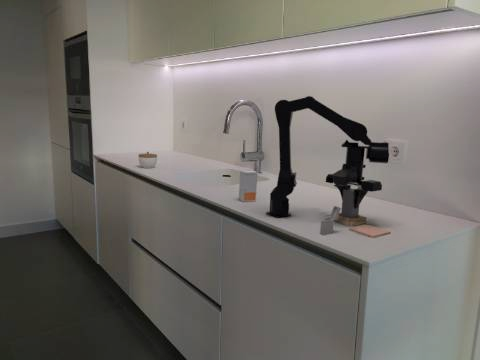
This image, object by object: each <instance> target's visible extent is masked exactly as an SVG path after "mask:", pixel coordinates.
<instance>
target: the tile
mask: <svg viewBox="0 0 480 360" xmlns="http://www.w3.org/2000/svg"><path fill="white" fill-rule="evenodd" d="M348 231H349V232H353V233H357V234H359V235H363V236H365V237H369V238H372V239H374V238H378V237H382V236H386V235H390V234H391V231H390V230H387V229H383V228H380V227H377V226H374V225H373V226H372V225H369V224H367V223H365V224H360V225H356V226H351V227H349V228H348Z"/></svg>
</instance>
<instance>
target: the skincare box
mask: <svg viewBox="0 0 480 360" xmlns="http://www.w3.org/2000/svg"><path fill="white" fill-rule="evenodd" d="M238 185H239V187H238V201H240V202H242V203H244V202H256V201H257V189H258V187H257V185H258V171H255V170H239V184H238Z"/></svg>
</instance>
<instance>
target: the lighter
mask: <svg viewBox="0 0 480 360" xmlns="http://www.w3.org/2000/svg"><path fill="white" fill-rule="evenodd" d="M341 211H342V207H340V206H336V205H333V207H332V210H331V214H330V215H326V216H324V218H323V219H321V220H320V231H319V234H320V235H323V236H326V235H330V234H333V233H334V224H335V223H334V222H336V220H337V218H338V215H339V213H341ZM334 220H335V221H334Z"/></svg>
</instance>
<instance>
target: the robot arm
mask: <svg viewBox="0 0 480 360" xmlns="http://www.w3.org/2000/svg"><path fill="white" fill-rule="evenodd" d="M306 109H308V110H310V111H312V112H313V113H315V114H316V115H319V117H322V118H323V119H325V120H327V121H328V122H330V123H332V124H333V125H334V126H336V127H338V128H339V129H340V130H341V131H342V132H343V133H344V134H345V135H347V137H348V138H350V139H351V140H352V142H351V141H349V140H348V139H346V140H345V141H344V142H343V143H341V148H346V155H345V163H342V166H341V169H339V170H337V171H336V172H334V173H328V174H327V175H326V177H325V183H328V184H333V186H334V187H336V188H337V189H338V190H339V191H338V192H339V193H340V197H341V200H343V189H349V188H352V186H357V188H353V189H354V191H355V203H354V208H355V209H357V208H358V206H359V207H360V204H361V203H362V201H363V199H364V198H365V196H367V193H369V192H370V193H371V192H373V193H374V192H376V191H377V192H378V191H382V188H383V184H382V183H381V182H382V181H379V180H375V179H368V180H365V177H364V176H363V171H364V169H365V168H366V166H367V165H366V164H364V161H365V159H366V160H368V162H369V163H374V164H375V163H378V164H388V162H389V159H390V153H389V152H390V149H389V146H390V145H389V142H386V141H384V142H375V141H372V140H371V139H370V138H369V136H368V129H367V127H366V126H365V125H364V124H362V123H360V122H357V121H355V120H352V119H350V118H347V117H345V116H343V115H341V114H340V113H338V112H336V111H335V110H334V109H331V108H330V107H329V106H326V105H325V104H323V103H322V102H320V101H318V100H317V99H315V98H314V96H311V95H308V96H305V97H303V98H302V97H301V98H298V99H297V98H296V99H294V100H287V99H279V100H278V101H277V102H276V103H275V105H274V113H275V119H276V122H277V125H278V126H277V127H278V139H279V140H278V144H279V145H278V146H279V148H278V149H279V170H278V171H279V173H278V175H277V176H278V177H277V182H276V186H274V188H273V189H272V191H270V193H269V196H270V197H269V198H270V199H269V211H266V213H265V215H269V216H271V217H275V218H278V219H280V218H285V217H290V216H292V213H289V212H290V211H289V210H290V203H289V201H290V198H288V196H290V195H291V194H292V193H293V192H294V190H295V187H297V184H298V182H297V172H293V169H292V152H291V151H292V150H291V149H292V147H291V145H292V143H291V139H292V138H291V125H292V120H293V115H294V114H293V113H295V112H299V111H304V110H306ZM353 141H354V142H353ZM359 142H361V143H362V144H364V145H359Z"/></svg>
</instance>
